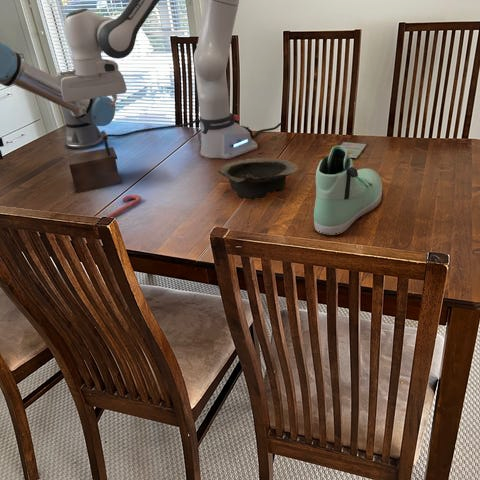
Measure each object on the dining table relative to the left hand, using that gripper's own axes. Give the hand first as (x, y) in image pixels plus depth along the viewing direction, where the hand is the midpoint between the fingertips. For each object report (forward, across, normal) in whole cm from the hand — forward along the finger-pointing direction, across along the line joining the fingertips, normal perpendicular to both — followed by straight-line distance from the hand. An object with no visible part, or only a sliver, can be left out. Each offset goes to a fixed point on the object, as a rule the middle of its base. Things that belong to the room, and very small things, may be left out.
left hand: (2, 148), depth 152 cm
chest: (+27, +1, -16) cm, 31 cm away
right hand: (+31, +1, +8) cm, 32 cm away
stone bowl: (+74, +34, -14) cm, 82 cm away
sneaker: (+90, +60, -14) cm, 109 cm away
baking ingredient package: (+116, +22, -12) cm, 119 cm away
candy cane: (+31, +26, -16) cm, 43 cm away
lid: (+26, +1, -7) cm, 27 cm away
